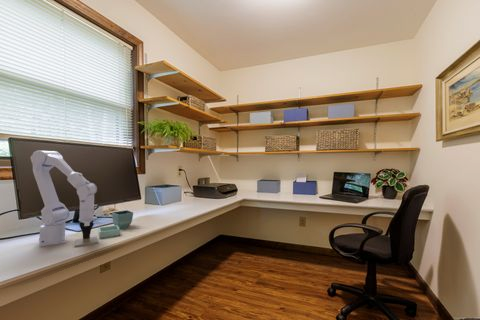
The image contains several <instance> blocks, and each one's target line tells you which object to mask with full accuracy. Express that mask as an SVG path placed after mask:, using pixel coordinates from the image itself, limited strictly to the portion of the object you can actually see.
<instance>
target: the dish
mask: <svg viewBox="0 0 480 320" xmlns="http://www.w3.org/2000/svg"><path fill="white" fill-rule="evenodd" d="M97 233H98V240H99V239H100V240H101V239H105V238H112V237H113V238H114V237H118V236H120V233H121V229H119V227H118V225H108V226H101V227H98V230H97Z"/></svg>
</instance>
